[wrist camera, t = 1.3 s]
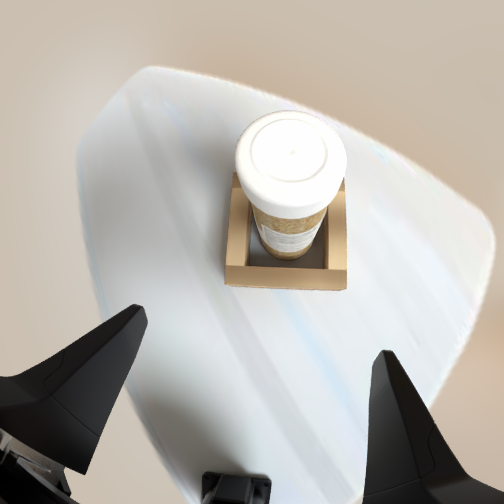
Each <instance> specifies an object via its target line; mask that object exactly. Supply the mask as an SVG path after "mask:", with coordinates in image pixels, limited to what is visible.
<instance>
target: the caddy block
mask: <svg viewBox="0 0 504 504" xmlns="http://www.w3.org/2000/svg"><path fill="white" fill-rule="evenodd" d="M251 220H252V206H251V202H250V200H249V199H248V197H247V196H246V195H245V193H244V191H243V189H242V186H241V184H240V181H239V178H238V175H237V173H233V183H232V194H231V205H230V216H229V228H228V241H227V254H226V267H225V282H224V284H226V285H229V286H235V287H254V288H275V289H299V290H332V291H340V290H344V289H346V287H347V229H346V203H345V185H344V177H343V180H342V183H341V185H340V187H339V190H338V192H337V194H336V196H335V197H334V199H333V200H332V201H331V202H330V203H329V204H328V206H327V211H326V213H325V216H324V269H306V268H280V267H256V266H249V252H250V236H251Z"/></svg>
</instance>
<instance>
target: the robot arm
mask: <svg viewBox="0 0 504 504" xmlns="http://www.w3.org/2000/svg"><path fill="white" fill-rule="evenodd" d="M147 324H148V320H147V317H146V313H145V310H144V308H143V306H140V305H137V304H132V305H131V306H129V307H127V308H126V309H124V310H123V311H121V312H120V313H118V314H116V315H115V316H113V317H112V318H110V319H109V320H107V321H106V322H104V323H102V324H101V325H99V326H98V327H96V328H95V329H93V330H92V331H90V332H88V333H87V334H85V335H84V336H82V337H81V338H79V339H78V340H76V341H75V342H73V343H72V344H70V345H69V346H67V347H66V348H64V349H62V350H61V351H59V352H58V353H56V354H55V355H53V356H51V357H50V358H48V359H46V360H45V361H43V362H41V363H39V364H38V365H35V366H34V367H32V368H30V369H28V370H26V371H24V372H22V373H20V374H18V375H15V376H10V377H2V376H0V504H79V503H77V502H76V501H74V500H73V499H71V498H70V495H71V491H70V488H69V486H68V483H67V480H66V477H65V474H64V468H65V467H67V468H69V469H72V470H74V471H76V472H78V473H80V474H83V475H85V474H86V472H87V470H88V467H89V464H90V462H91V459H92V457H93V454H94V452H95V449H96V447H97V444H98V442H99V439H100V438H99V437H100V436H101V434H102V431H103V429H104V427H105V424H106V422H107V419H108V417H109V415H110V413H111V410H112V408H113V406H114V403H115V401H116V399H117V397H118V394H119V392H120V390H121V388H122V386H123V384H124V381H125V379H126V377H127V375H128V373H129V371H130V368H131V366H132V364H133V362H134V360H135V358H136V355H137V352H138V350H139V347H140V344H141V341H142V338H143V335H144V333H145V330H146V327H147ZM207 476H209V477H207ZM264 483H268V484H264ZM271 485H272V482H271V480H269V479H259V478H249V477H240V476H232V475H225V474H218V473H212V472H205V473H204V474H203V475H202V492H203V502H202V504H269V500H270V493H271ZM363 496H364V497H363V502H362V504H504V492H502V491H500V490H497V489H495V488H493V487H491V486H488V485H486V484H484V483H482V482H480V481H478V480H476V479H473V478H472V477H471V476H469V475H468V474H467V473H466V472H465V470H464V469H463V468H462V466H461V465H460V463H459V461H458V460H457V458H456V457H455V455H454V454H453V452H452V451H451V449H450V448H449V446H448V445H447V443H446V441H445V440H444V438H443V436H442V435H441V433H440V431H439V429H438V427H437V425H436V424H435V423H434V420H433V418H432V416H431V415H430V413H429V411H428V409H427V407H426V406H425V404H424V402H423V400H422V399H421V397H420V395H419V393H418V392H417V390H416V388H415V387H414V385H413V383H412V382H411V380H410V378H409V377H408V375H407V373H406V372H405V370H404V368H403V367H402V365H401V363H400V362H399V360H398V359H397V357H396V355H395V354H394V352H393V351H391V350H382V351H381V352H380V353H379V355H378V356H377V358H376V359H375V361H374V363H373V366H372V377H371V388H370V397H369V426H368V450H367V465H366V477H365V487H364V495H363Z"/></svg>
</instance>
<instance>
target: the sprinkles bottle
mask: <svg viewBox="0 0 504 504" xmlns="http://www.w3.org/2000/svg"><path fill="white" fill-rule="evenodd" d="M234 161H235V167H236V172H237V175H238V178H239V181H240V184H241V186H242V189H243V191H244V193H245V195H246V196H247V197H248V199H249V200H250V202H251V206H252V208H253V213H254V217H255V221H256V224H257V227H258V231H259V233H260V236H261V241H262V244H263V245H264V247H265V249H266V250H267V251H268V252H269V253H270V254H271V255H273V256H274V257H276V258H278V259H283V260H293V259H297V258H299V257H301V256H302V255H304V254H305V253H306V252H307V251H308V250H309V249H310V247H311V245H312V243H313V239H314V237H315V235H316V233H317V231H318V229H319V227H320V225H321V222H322V220H323V218H324V216H325V213H326V211H327V206H328V204H329V203H330V202H331V201H332V200H333V199H334V197H335V196H336V194H337V192H338V190H339V187H340V185H341V183H342V180H343V177H344V174H345V170H346V152H345V148H344V145H343V143H342V141H341V139H340V137H339V136H338V134H337V133H336V132H335V130H334V129H333V128H332V127H331V126H330V125H328V124H327V123H326V122H324V121H323V120H321V119H320V118H318V117H316V116H314V115H311V114H308V113H305V112H300V111H278V112H273V113H270V114H267V115H265V116H262V117H260V118H258V119H257V120H255V121H254V122H252V123H251V124H250V125H249V126H248V127H247V128H246V129H245V130H244V131H243V133H242V134H241V136H240V138H239V140H238V142H237V145H236V149H235V160H234Z"/></svg>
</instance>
